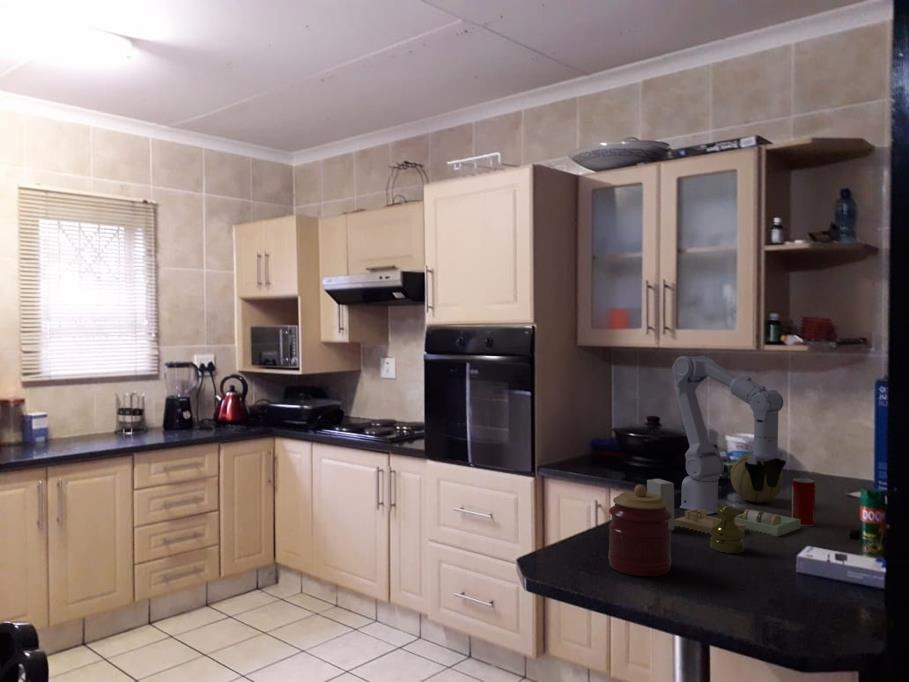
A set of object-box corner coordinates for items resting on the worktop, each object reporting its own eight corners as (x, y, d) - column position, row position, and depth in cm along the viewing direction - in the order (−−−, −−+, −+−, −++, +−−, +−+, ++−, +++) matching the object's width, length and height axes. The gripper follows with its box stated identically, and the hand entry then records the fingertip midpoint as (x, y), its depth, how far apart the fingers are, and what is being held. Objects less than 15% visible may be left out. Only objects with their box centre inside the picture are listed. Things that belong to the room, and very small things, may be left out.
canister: (661, 582, 139) (662, 494, 139) (599, 570, 146) (600, 486, 146) (677, 564, 150) (679, 483, 150) (619, 553, 157) (620, 476, 157)
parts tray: (728, 525, 182) (728, 516, 182) (752, 517, 190) (752, 509, 190) (777, 536, 172) (777, 527, 172) (800, 528, 180) (800, 519, 180)
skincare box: (675, 530, 176) (675, 482, 176) (660, 531, 175) (661, 484, 175) (660, 524, 182) (660, 478, 182) (645, 525, 181) (646, 479, 180)
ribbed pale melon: (757, 494, 218) (758, 447, 217) (794, 505, 204) (795, 455, 203) (719, 497, 213) (719, 449, 213) (753, 509, 199) (754, 457, 199)
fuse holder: (674, 525, 181) (674, 511, 181) (695, 519, 187) (695, 505, 187) (724, 537, 170) (725, 523, 170) (745, 531, 176) (745, 516, 176)
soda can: (817, 527, 181) (818, 481, 180) (794, 526, 182) (795, 480, 182) (811, 521, 186) (811, 477, 186) (789, 520, 187) (789, 476, 187)
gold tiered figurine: (728, 556, 156) (729, 512, 156) (703, 546, 163) (703, 504, 163) (751, 551, 160) (752, 508, 159) (725, 542, 166) (726, 501, 166)
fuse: (746, 524, 183) (741, 517, 181) (751, 513, 185) (746, 506, 183) (778, 532, 177) (773, 524, 175) (782, 520, 178) (777, 513, 176)
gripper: (767, 441, 173) (766, 495, 173) (794, 436, 182) (793, 487, 182) (740, 437, 178) (739, 490, 179) (767, 433, 188) (766, 483, 188)
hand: (764, 488), depth 181 cm, fingers open, 7 cm apart
